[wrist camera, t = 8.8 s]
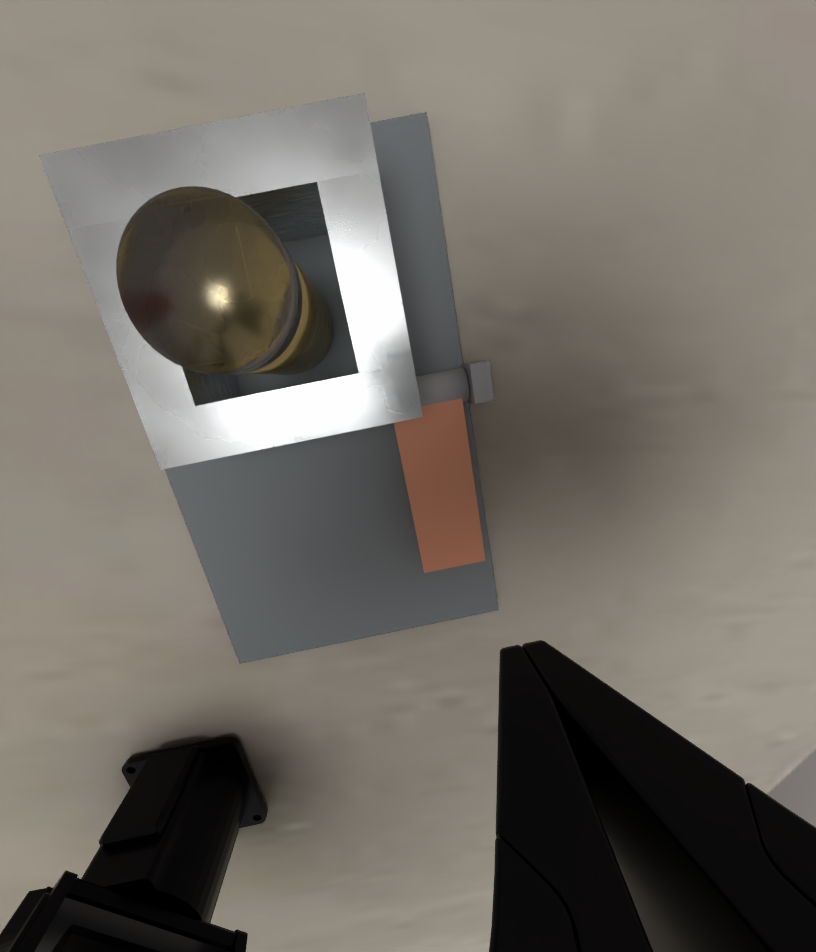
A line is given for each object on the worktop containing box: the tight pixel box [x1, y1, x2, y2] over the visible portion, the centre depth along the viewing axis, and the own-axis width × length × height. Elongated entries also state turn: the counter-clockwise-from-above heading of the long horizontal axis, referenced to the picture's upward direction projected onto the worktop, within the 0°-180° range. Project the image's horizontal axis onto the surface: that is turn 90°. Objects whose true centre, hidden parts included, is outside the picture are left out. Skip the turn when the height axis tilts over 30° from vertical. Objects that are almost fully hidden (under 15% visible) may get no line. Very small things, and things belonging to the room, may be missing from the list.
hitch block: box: [39, 93, 423, 470], centre depth 14 cm, size 9×9×4 cm
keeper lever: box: [394, 367, 486, 573], centre depth 18 cm, size 9×4×1 cm, turn 11°
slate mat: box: [165, 112, 499, 664], centre depth 17 cm, size 22×15×2 cm
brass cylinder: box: [116, 186, 333, 375], centre depth 13 cm, size 4×4×7 cm
